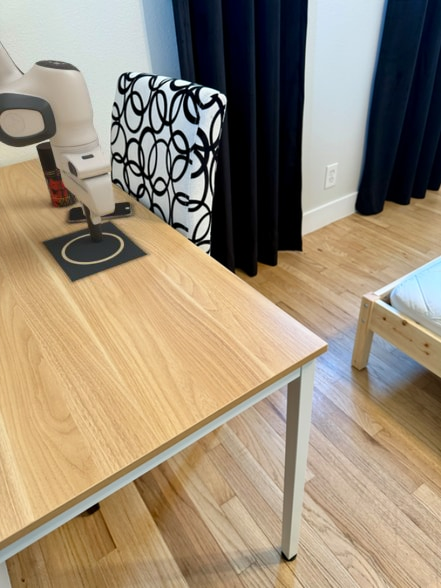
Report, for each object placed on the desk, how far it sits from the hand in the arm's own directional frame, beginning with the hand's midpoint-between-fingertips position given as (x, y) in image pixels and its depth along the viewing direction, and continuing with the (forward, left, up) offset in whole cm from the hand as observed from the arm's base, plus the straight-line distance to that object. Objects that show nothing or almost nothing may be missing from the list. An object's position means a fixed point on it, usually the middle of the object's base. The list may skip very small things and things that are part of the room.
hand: (92, 219), depth 91 cm
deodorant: (+1, +25, -6) cm, 25 cm away
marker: (0, 0, -5) cm, 5 cm away
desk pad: (-2, -2, -5) cm, 6 cm away
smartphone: (+6, +13, -6) cm, 15 cm away
